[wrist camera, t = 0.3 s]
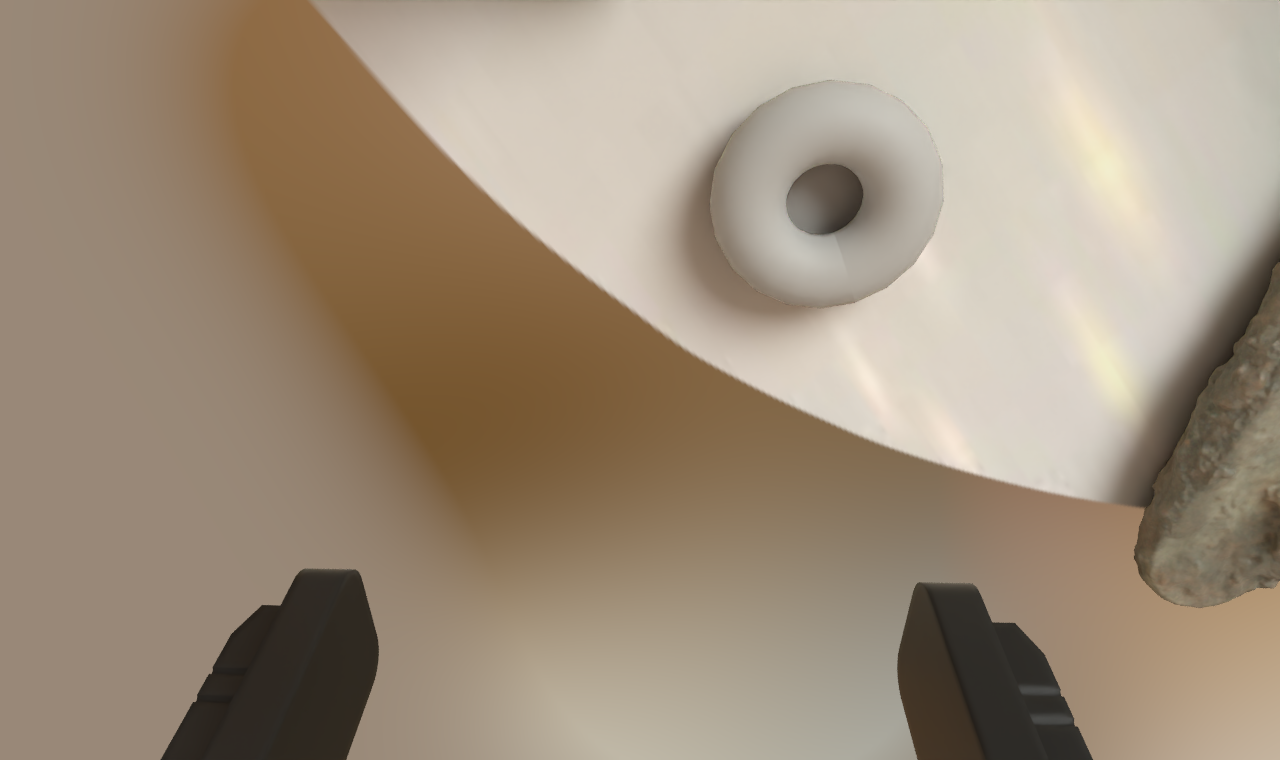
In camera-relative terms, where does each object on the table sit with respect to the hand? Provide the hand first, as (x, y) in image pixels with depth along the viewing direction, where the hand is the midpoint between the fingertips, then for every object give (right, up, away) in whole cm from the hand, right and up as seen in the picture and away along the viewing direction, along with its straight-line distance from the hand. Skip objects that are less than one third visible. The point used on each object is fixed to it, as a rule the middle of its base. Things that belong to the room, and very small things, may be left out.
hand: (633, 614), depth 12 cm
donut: (+8, +12, +25) cm, 29 cm away
